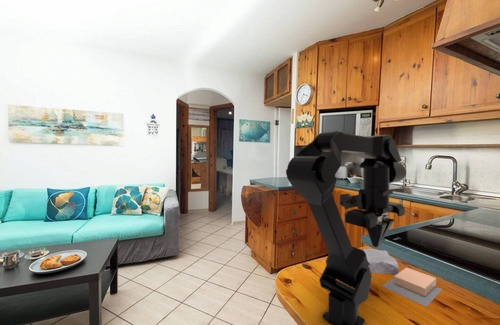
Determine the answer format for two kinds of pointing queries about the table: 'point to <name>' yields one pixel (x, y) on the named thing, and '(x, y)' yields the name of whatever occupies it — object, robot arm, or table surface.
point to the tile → (415, 281)
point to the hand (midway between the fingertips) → (375, 246)
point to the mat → (412, 293)
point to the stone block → (381, 262)
